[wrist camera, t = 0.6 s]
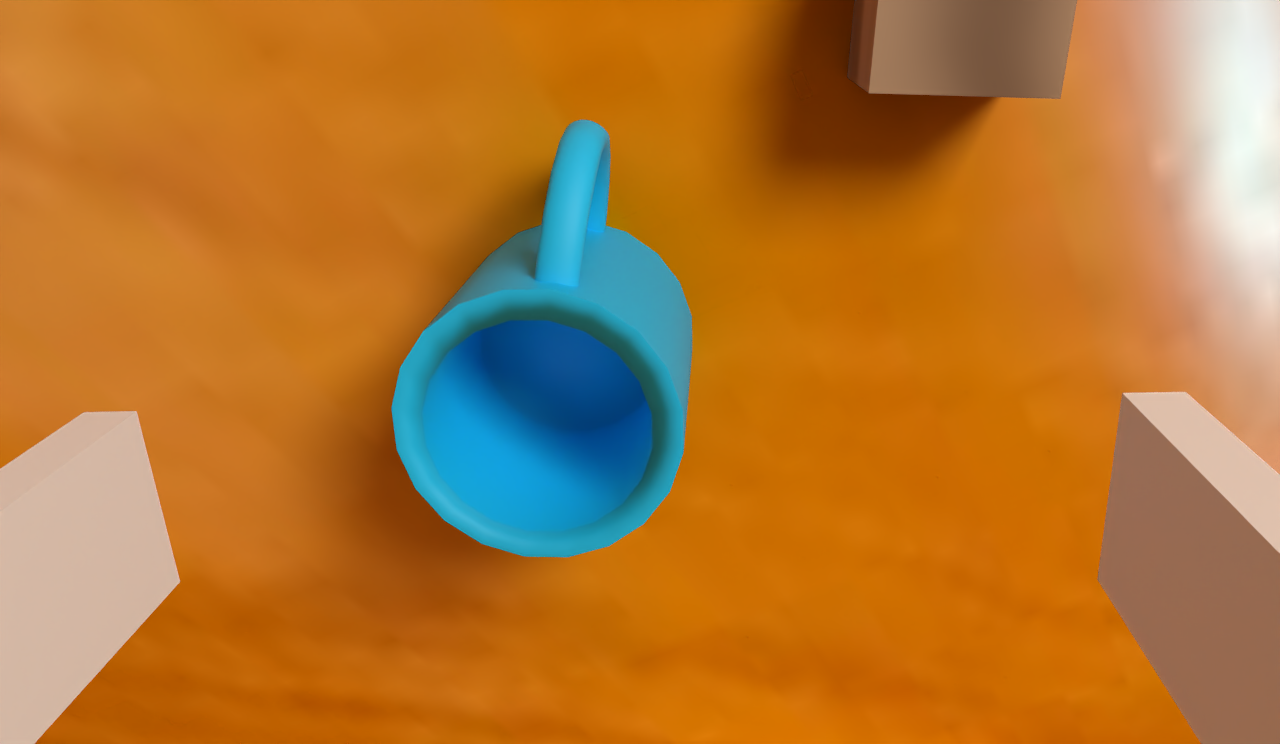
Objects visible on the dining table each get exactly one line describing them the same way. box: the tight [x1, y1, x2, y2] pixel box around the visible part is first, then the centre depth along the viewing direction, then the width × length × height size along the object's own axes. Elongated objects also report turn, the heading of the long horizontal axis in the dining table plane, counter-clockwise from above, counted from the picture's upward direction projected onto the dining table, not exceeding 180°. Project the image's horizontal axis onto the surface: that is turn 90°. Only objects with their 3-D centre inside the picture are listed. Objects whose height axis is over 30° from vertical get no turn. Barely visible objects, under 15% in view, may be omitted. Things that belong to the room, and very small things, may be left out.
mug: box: [391, 120, 692, 557], centre depth 30 cm, size 12×8×8 cm
